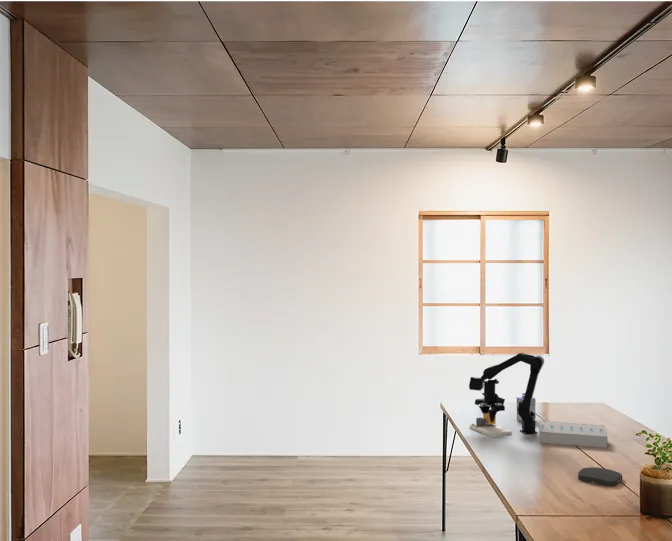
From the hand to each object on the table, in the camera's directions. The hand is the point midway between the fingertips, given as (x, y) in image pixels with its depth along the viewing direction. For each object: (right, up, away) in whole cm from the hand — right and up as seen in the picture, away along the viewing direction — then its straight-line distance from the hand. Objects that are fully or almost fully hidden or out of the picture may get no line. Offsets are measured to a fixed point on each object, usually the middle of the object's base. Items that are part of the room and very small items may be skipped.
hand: (489, 421), depth 333 cm
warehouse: (+34, -4, -25) cm, 43 cm away
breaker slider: (-5, -2, -2) cm, 6 cm away
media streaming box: (+25, -4, -81) cm, 84 cm away
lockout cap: (0, -1, 0) cm, 1 cm away
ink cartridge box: (+24, -4, +18) cm, 30 cm away
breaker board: (-1, -3, -7) cm, 8 cm away
